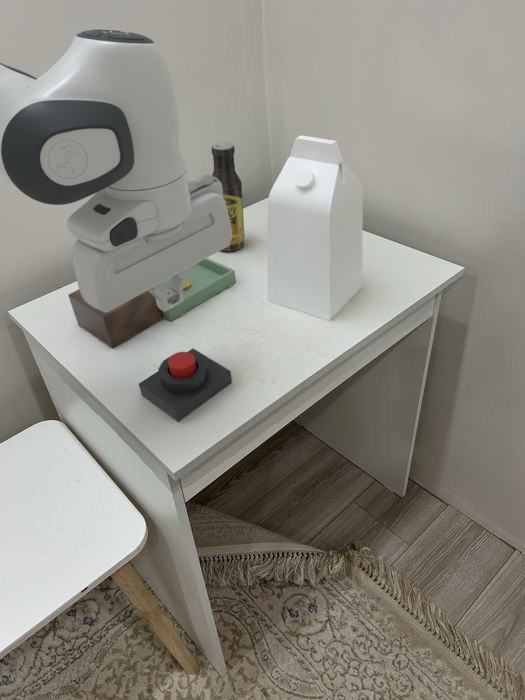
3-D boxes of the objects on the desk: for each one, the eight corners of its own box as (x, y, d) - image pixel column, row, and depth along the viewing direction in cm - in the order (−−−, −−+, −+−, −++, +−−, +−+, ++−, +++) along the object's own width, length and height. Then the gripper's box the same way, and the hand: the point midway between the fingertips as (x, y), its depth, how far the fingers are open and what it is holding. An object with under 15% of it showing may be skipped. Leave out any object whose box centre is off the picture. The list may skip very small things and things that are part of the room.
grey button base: (178, 422, 72) (173, 400, 69) (141, 395, 76) (135, 373, 74) (232, 382, 77) (229, 360, 75) (194, 359, 82) (191, 338, 79)
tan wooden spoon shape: (193, 284, 96) (193, 287, 96) (186, 278, 98) (187, 281, 98) (159, 297, 93) (159, 300, 94) (152, 290, 95) (153, 293, 96)
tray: (170, 321, 90) (168, 309, 88) (123, 294, 97) (120, 282, 95) (236, 282, 98) (234, 270, 96) (188, 259, 105) (186, 248, 104)
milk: (362, 286, 94) (372, 132, 78) (329, 320, 87) (334, 159, 71) (302, 269, 100) (300, 122, 83) (267, 300, 93) (258, 146, 76)
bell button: (181, 382, 73) (179, 372, 71) (164, 370, 75) (162, 361, 73) (201, 368, 74) (200, 358, 73) (184, 357, 76) (182, 348, 75)
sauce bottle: (209, 251, 107) (196, 150, 94) (220, 236, 112) (209, 138, 99) (240, 255, 105) (231, 152, 93) (250, 239, 110) (243, 139, 97)
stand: (112, 348, 85) (103, 317, 81) (78, 324, 90) (67, 294, 87) (162, 319, 90) (156, 288, 86) (127, 298, 96) (119, 268, 92)
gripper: (201, 164, 66) (214, 263, 75) (52, 226, 55) (88, 334, 64) (237, 175, 63) (247, 277, 72) (86, 244, 52) (119, 355, 61)
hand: (171, 305), depth 68 cm, fingers closed
